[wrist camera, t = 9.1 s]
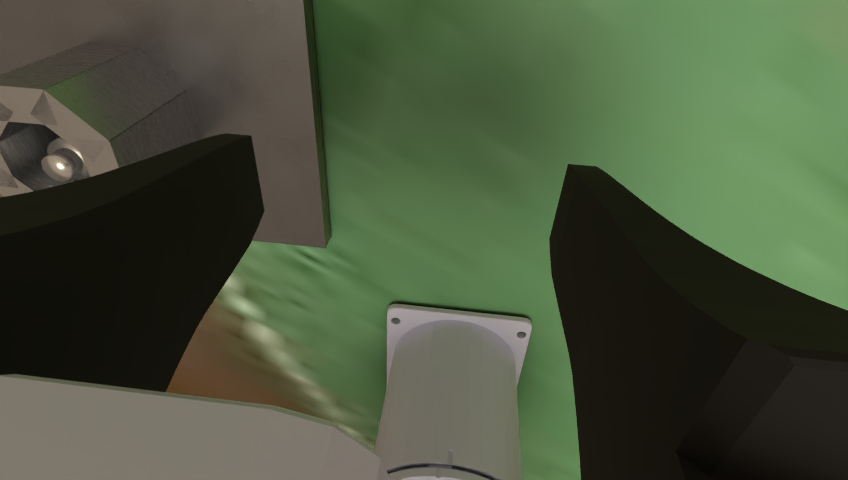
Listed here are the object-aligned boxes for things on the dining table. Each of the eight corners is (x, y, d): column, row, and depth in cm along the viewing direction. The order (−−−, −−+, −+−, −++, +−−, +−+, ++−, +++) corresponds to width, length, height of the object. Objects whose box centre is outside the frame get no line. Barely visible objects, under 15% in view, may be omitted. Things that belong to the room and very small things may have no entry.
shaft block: (331, 236, 25) (295, 314, 20) (35, 206, 26) (-63, 275, 21) (309, -30, 18) (247, -2, 13) (-98, -58, 19) (-290, -41, 14)
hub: (206, 173, 22) (143, 235, 18) (94, 162, 22) (8, 221, 18) (175, 50, 19) (91, 93, 15) (45, 40, 19) (-72, 79, 15)
